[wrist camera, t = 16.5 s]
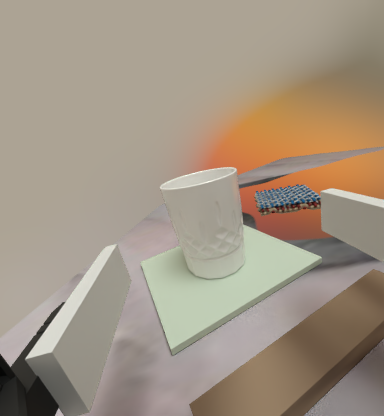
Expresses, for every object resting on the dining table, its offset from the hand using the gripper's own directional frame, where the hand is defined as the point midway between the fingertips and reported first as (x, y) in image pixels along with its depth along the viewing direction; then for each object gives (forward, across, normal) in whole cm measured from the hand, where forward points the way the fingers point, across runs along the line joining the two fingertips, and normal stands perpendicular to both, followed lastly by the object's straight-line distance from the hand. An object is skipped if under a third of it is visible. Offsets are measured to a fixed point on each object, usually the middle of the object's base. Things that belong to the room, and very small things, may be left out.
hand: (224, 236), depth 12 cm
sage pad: (+9, 0, -8) cm, 12 cm away
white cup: (+8, 0, -7) cm, 11 cm away
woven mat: (+22, +16, -8) cm, 29 cm away
